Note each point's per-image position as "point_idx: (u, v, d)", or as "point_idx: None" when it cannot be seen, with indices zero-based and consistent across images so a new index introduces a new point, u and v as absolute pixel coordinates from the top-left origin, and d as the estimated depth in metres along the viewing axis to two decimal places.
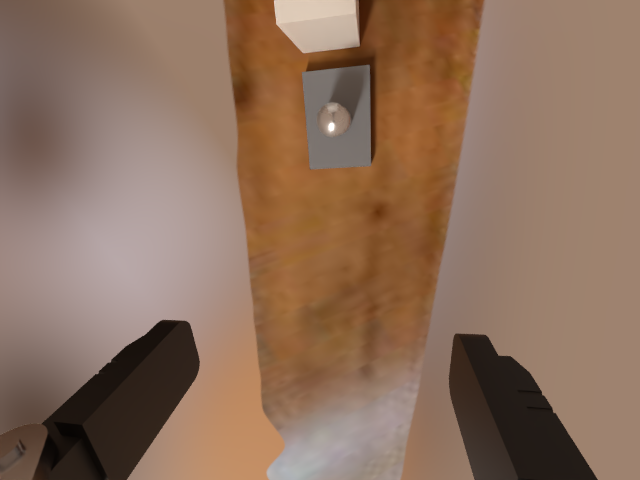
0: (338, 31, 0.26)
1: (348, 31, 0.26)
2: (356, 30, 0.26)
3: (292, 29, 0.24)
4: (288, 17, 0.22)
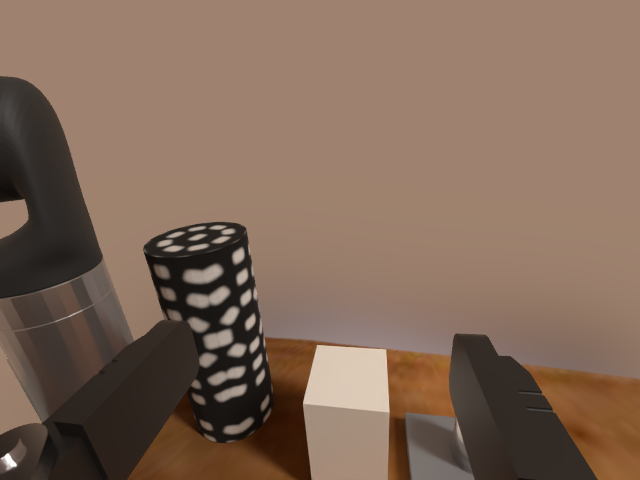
0: None
1: None
2: None
3: None
4: (384, 399, 0.21)
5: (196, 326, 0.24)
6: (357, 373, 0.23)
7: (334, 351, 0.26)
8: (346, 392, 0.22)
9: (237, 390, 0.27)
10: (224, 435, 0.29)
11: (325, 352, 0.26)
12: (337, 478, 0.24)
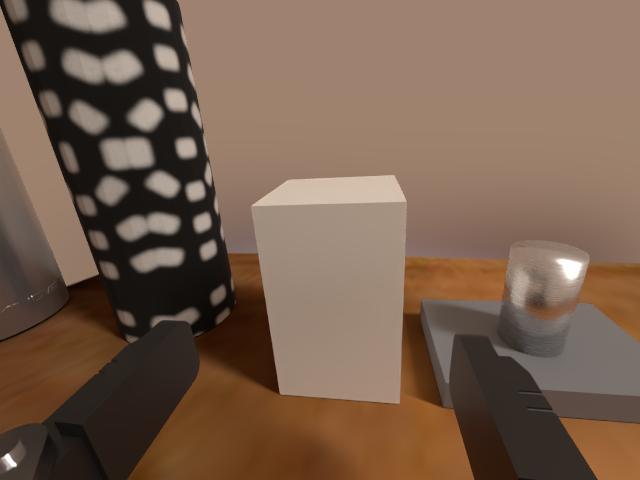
0: None
1: None
2: None
3: None
4: (395, 195, 0.12)
5: (86, 120, 0.15)
6: (348, 187, 0.14)
7: (313, 180, 0.17)
8: (329, 196, 0.13)
9: (168, 255, 0.18)
10: None
11: (299, 181, 0.16)
12: (317, 364, 0.14)
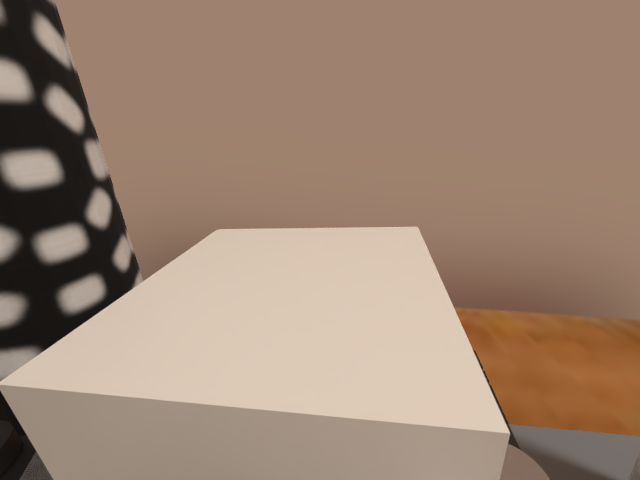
0: None
1: None
2: None
3: None
4: (448, 356, 0.04)
5: None
6: (320, 273, 0.06)
7: (259, 236, 0.08)
8: (254, 332, 0.04)
9: (4, 363, 0.10)
10: None
11: (232, 238, 0.08)
12: None
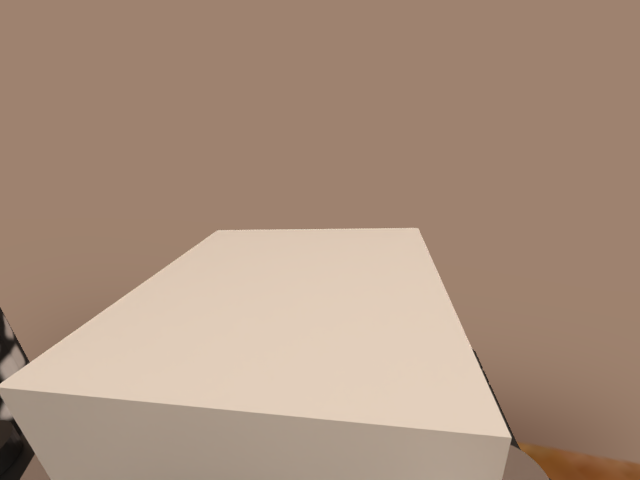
0: None
1: None
2: None
3: None
4: (449, 359, 0.04)
5: None
6: (320, 275, 0.06)
7: (259, 237, 0.08)
8: (254, 334, 0.04)
9: None
10: None
11: (232, 240, 0.08)
12: None
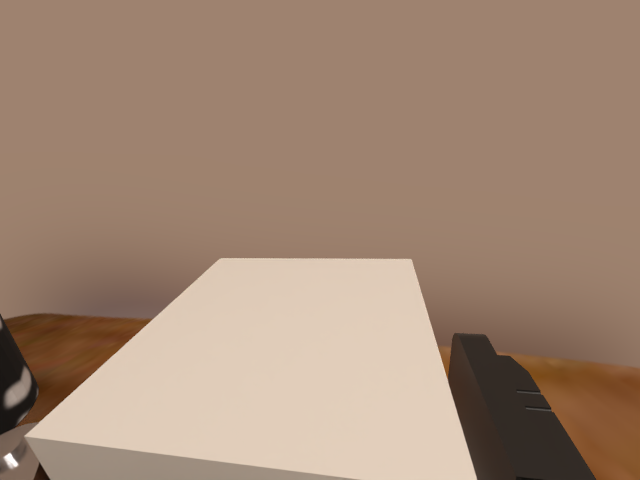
0: None
1: None
2: None
3: None
4: (432, 411, 0.04)
5: None
6: (317, 314, 0.06)
7: (260, 268, 0.09)
8: (257, 381, 0.05)
9: None
10: None
11: (234, 270, 0.09)
12: None
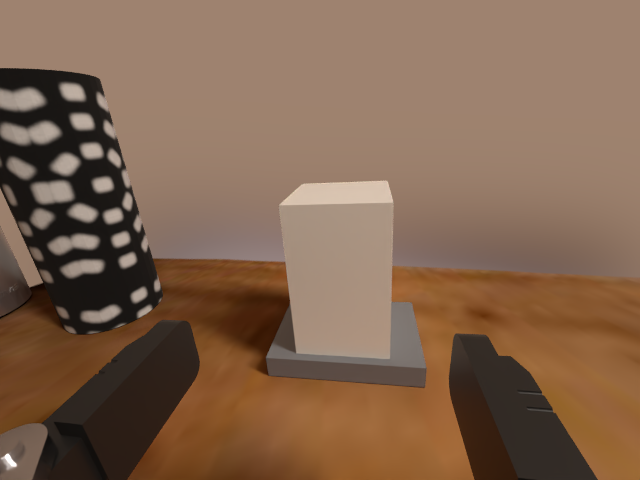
0: None
1: None
2: None
3: None
4: (386, 198, 0.16)
5: (19, 170, 0.21)
6: (351, 190, 0.18)
7: (323, 185, 0.21)
8: (336, 198, 0.17)
9: (90, 265, 0.24)
10: (83, 324, 0.25)
11: (311, 185, 0.21)
12: (326, 328, 0.18)
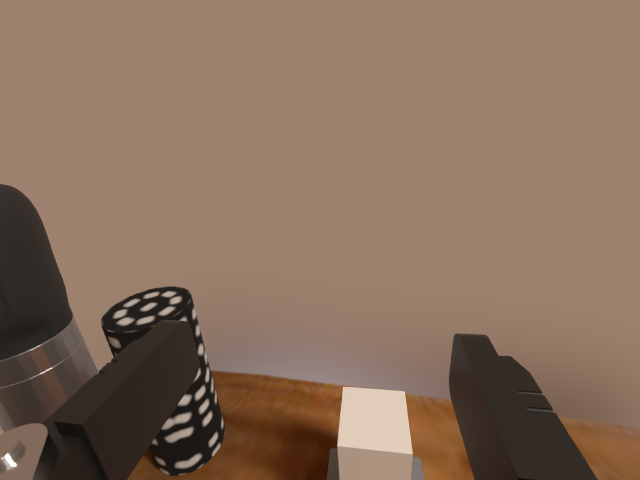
0: None
1: None
2: None
3: None
4: (406, 441, 0.25)
5: None
6: (381, 415, 0.27)
7: (359, 393, 0.29)
8: (374, 435, 0.25)
9: (184, 432, 0.33)
10: (175, 469, 0.34)
11: (351, 394, 0.29)
12: None
